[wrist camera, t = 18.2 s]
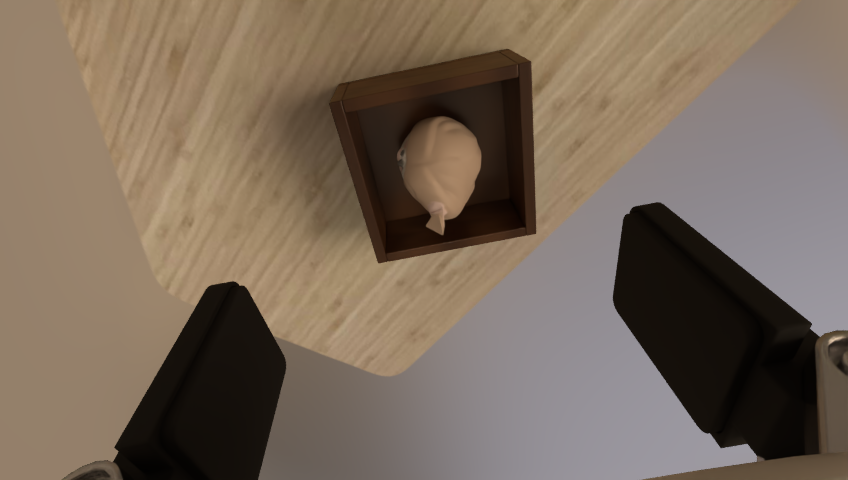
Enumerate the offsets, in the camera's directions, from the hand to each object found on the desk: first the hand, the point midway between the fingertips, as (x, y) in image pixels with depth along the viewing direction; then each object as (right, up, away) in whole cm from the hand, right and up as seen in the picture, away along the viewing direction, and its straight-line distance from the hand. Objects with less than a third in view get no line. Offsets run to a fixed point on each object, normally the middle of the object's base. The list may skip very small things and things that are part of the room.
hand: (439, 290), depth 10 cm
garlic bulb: (+1, +9, +22) cm, 24 cm away
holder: (+1, +9, +22) cm, 24 cm away
